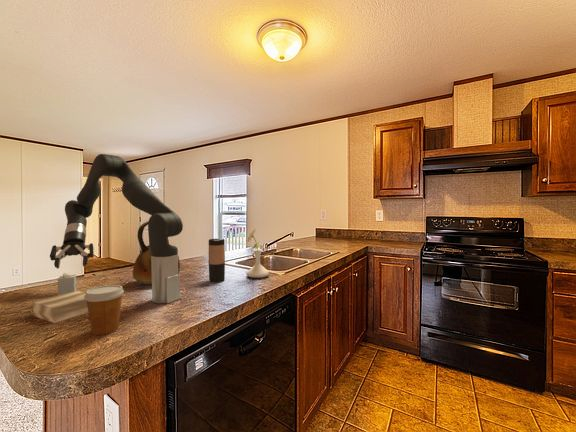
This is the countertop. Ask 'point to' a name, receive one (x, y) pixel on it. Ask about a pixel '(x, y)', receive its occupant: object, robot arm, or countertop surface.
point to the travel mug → (216, 260)
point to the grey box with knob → (66, 283)
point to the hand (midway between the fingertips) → (70, 266)
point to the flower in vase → (257, 269)
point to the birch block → (61, 306)
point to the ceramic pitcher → (144, 260)
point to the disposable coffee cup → (104, 308)
